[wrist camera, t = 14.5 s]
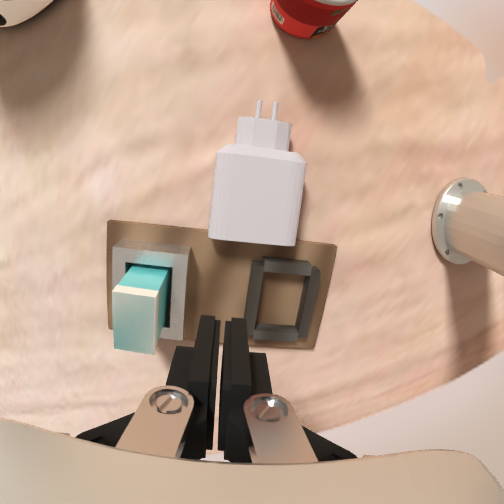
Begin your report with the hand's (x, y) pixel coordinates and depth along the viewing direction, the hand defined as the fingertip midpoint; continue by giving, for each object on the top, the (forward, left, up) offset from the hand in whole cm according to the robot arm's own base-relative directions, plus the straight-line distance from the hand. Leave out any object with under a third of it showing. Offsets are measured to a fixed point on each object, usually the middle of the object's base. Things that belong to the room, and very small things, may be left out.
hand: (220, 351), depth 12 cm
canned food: (-6, -27, -27) cm, 38 cm away
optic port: (+7, +8, -26) cm, 28 cm away
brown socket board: (0, +8, -26) cm, 27 cm away
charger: (-3, -6, -27) cm, 28 cm away
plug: (+7, +8, -25) cm, 28 cm away
